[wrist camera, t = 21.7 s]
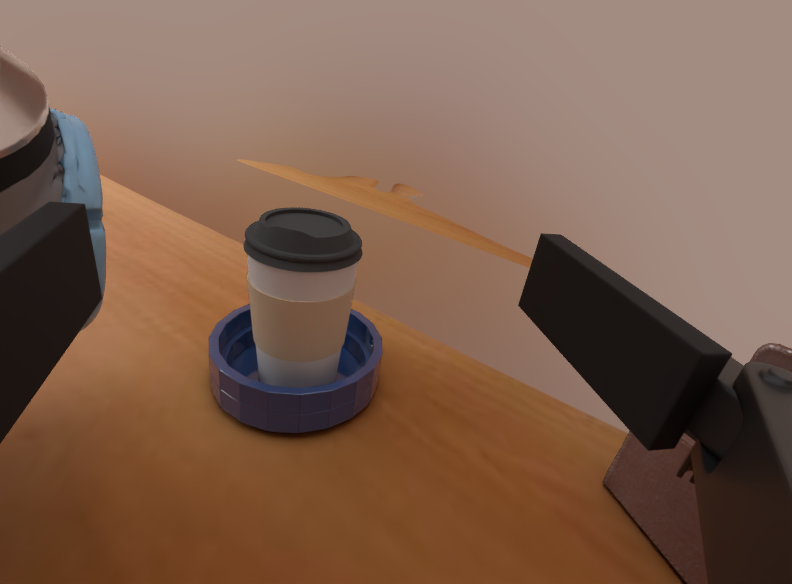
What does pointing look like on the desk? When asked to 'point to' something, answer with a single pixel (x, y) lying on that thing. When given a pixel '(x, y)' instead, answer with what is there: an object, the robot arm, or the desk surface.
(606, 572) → the desk surface
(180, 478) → the desk surface
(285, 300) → the coffee cup
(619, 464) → the letter holder
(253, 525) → the desk surface
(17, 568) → the desk surface
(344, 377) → the bowl
